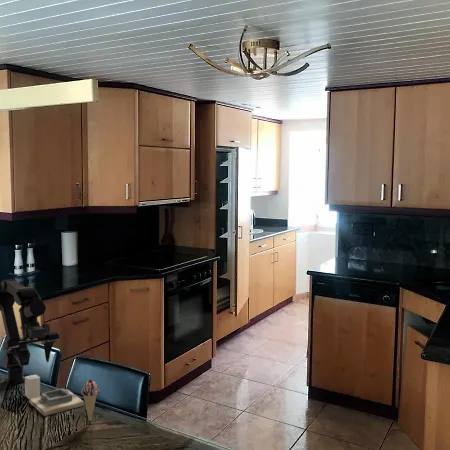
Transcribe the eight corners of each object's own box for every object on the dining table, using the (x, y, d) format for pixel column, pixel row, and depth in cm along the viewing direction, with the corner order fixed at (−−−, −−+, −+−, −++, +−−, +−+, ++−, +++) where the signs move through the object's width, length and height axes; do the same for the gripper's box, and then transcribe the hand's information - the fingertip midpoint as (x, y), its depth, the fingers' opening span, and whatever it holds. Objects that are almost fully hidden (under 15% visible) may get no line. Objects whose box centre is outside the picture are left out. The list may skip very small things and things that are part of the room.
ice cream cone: (79, 422, 163) (79, 377, 163) (97, 419, 166) (97, 375, 165) (82, 430, 158) (82, 383, 157) (100, 427, 161) (101, 381, 160)
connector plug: (24, 395, 184) (24, 376, 183) (35, 392, 186) (35, 374, 186) (28, 399, 181) (28, 379, 180) (39, 396, 183) (40, 377, 183)
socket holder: (29, 402, 178) (29, 392, 178) (67, 392, 187) (67, 383, 187) (44, 416, 167) (44, 405, 167) (83, 405, 177) (83, 395, 176)
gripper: (9, 320, 173) (15, 366, 169) (62, 313, 185) (68, 356, 181) (0, 326, 181) (5, 370, 177) (51, 319, 193) (57, 360, 189)
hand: (35, 364), depth 181 cm, fingers open, 9 cm apart
